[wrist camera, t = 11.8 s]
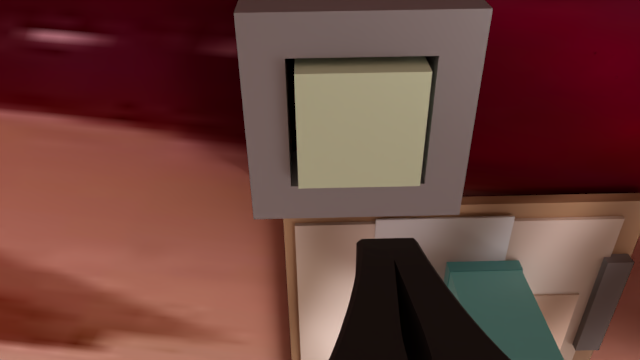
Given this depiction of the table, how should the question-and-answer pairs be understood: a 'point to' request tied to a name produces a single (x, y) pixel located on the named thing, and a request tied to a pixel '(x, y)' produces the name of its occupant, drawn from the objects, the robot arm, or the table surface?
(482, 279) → the teal rimmed box
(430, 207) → the button housing
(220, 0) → the table surface
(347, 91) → the button
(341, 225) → the clipboard
